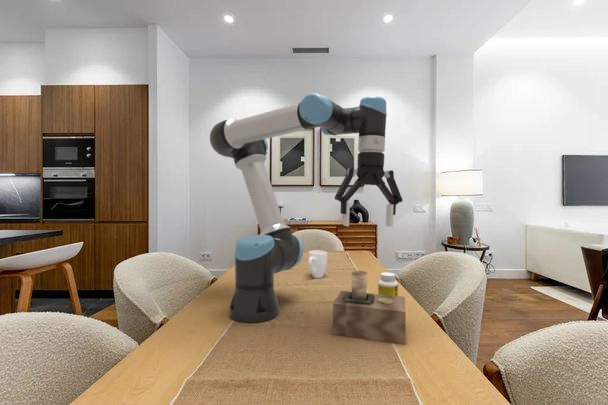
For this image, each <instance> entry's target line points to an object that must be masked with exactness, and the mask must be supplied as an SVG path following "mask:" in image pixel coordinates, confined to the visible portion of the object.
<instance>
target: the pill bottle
mask: <svg viewBox="0 0 608 405" xmlns="http://www.w3.org/2000/svg"><path fill="white" fill-rule="evenodd" d="M395 279H397V278H396V274H395V273H394V272H381V273H380V279H379V281H377V282H378V283H377V284H378V285H377V290H378V291H377V294H380V295H391V296H399V295H398V294H399V284H398V282H397V281H396V280H395Z"/></svg>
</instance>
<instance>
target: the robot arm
mask: <svg viewBox="0 0 608 405" xmlns="http://www.w3.org/2000/svg"><path fill="white" fill-rule="evenodd" d="M387 116H388V114H387V100H386V99H385V98H384V97H382V96H378V95H370V96H369V95H368V96H366V97H362V98H361V99H360V101H359V105H358V106H354V107H346V108H344V107H342V106H341V105H339V104H337V103H336V102H334V101H333V100H331V99H329V98H328V97H326V95H322V94H321V93H317V92H310V93H308V94H306V95H305V96H304V97H303V98H302V99H301V100H300V102H298V103H295V104H291V105H287V106H284V107H280V108H277V109H273V110H269V111H265V112H262V113H259V114H255V115H252V116H247V117H243V118H241V119H236V118H234V117H233V118H229V119H224V120H222V121H219V122H217V123H216V124H214V126H213V127H212V129H211V130H210V134H209V143H210V145H211V147H212V149H213V150H214V151H215V152H216V153H217V154H218V155H220V156H222V157H225V158H230V159H233V161H234V165H235V168H236V169H238V170H240V171H241V174H242V177H243V179H244V182H245V186H246V189H247V192H248V194H249V199H250V201H251V205H252V207H253V211H254V213H255V216H256V221H257V224H258V226H259V229H260V233H259V234H256V235H248V236H245V237H242V238H240V239H238V240H237V242H236V244H235V252H234V263H235V264H234V268H235V270H234V271H235V272H234V273H235V274H234V279H235V280H234V282H235V287H234V292H233V295H232V298H231V302H230V303H229V304H230V305H229V307H228V308H229V309H228V310H229V311H228V312H229V313H228V314H229V317H230V318H231V319H232V320H234V321H237V322H241V323H261V322H265V321H269V320H273V319H274V318H276V317H278V316H279V313H280V304H279V302H278V301H279V300H278V297H277V295H276V292H275V286H274V285H275V284H274V283H275V280H274V279H275V278H274V274H277V273H280V272H284V271H288V270H290V269H293V268H294V267H296V266H297V265H298V264H299V263H300V262H301V260H302V258H303V256H304V255H303V254H304V245H303V243H302V241H301V239H300V238H299V237H298V236H296V235H294V234H293V232H292V228H291V227H290V226H288V225H287V224H285V222H284V219H283V216H282V213H281V210H280V208H279V204H278V201H277V198H276V196H275V193H274V190H273V186H272V183H271V181H270V177H269V174H268V171H267V169H266V166H265V162H266V160H267V155H268V150H269V146H268V141H267V139H272V138H275V137H279V136H284V135H289V134H293V133H296V132H297V133H298V132H302V131H306V130H312V129H315V128H316V129H317V128H320V130H321V131H322V133H323V134H324V135H326V136H339V135H349V134H350V135H351V134H358V142H357V143H358V145H357V151H358V152H359V153H358V154H357V163H356V164H357V168H356V169H355V168H353V167H349V168H347V169H346V173H345V177H344V178H343V180H342V182H341V184H340V187H339V188H338V190H337V191H336V193H335V196H334V200H335V201H338V202H340V214H341V215H342V225H343V226H345V227H349V226H350V210H351V208H350V207H351V203H350V202H348V201H349V200H350V199H351V198H352V196H354V194H356V192H357V191H358V190H359V189H360V187H361V186H368V185H369V186H376V187H377V188H378V190H379V191H381V194H382V195H383V196H384V197H385V199H386V200H387V202H388V203H387V204H386V205H385V206H386V208H385V209H386V213H385V226H386V227H389V228H391V227H393V224H394V223H393V221H394V216H396V214H397V213H396V211H397V210H396V208H397V205H398V204H399V203H402V202H403V198H402V195H401V192H400V190H399V188H398V184H397V182H396V179H395V174H394V170H393V169H392V170H384V167H385V154H384V152H385V151H386V150H385V148H386V147H385V146H386V128H387V127H386V125H387ZM354 176H356V177H357V179H356V180H355V181H354V183H353V184H352V186H351V187H349V185H350V183H351V182H352V179H353V178H354ZM383 177H384V178H385V179H386V183H387V185H388V186H387V185H386V183H385V181H384V180H383ZM348 188H349V189H348ZM347 189H348V190H347Z"/></svg>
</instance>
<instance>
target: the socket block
mask: <svg viewBox="0 0 608 405" xmlns="http://www.w3.org/2000/svg"><path fill="white" fill-rule="evenodd" d="M406 312H407V311H406V297H405V296H402V295H401V296H399V295H398V296H391V295H380V294H378V293H367V300H366V301H365V300H356V299H352V291H349V290H341V291H340V292H339V294H338V295H337V297H336V298H335V300H334V302H332V335H335V336H336V335H337V336H341V337H342V336H343V337H349V338H358V339H365V340H370V341H378V342H386V343H394V344H398V345H399V344H400V345H406V318H407V316H406V314H407V313H406Z"/></svg>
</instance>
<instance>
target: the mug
mask: <svg viewBox="0 0 608 405" xmlns="http://www.w3.org/2000/svg"><path fill="white" fill-rule="evenodd" d="M327 266H328V252H327V251H326V250H321V249H315V250H314V249H313V250H310V251H308V268H309V270H310V272H311V275H312V277H313V278H315V279H321V278H323V277H324V275H325V272H326V270H327V269H326V268H327Z"/></svg>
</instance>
